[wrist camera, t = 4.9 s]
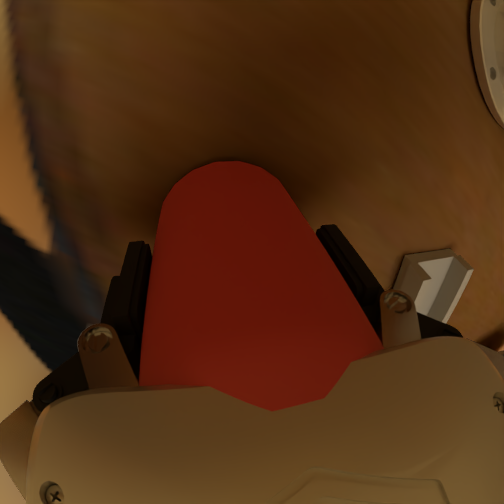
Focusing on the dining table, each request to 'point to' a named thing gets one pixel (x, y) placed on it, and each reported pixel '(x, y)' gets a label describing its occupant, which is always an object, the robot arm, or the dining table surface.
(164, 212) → the beer can
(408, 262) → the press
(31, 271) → the dining table surface
